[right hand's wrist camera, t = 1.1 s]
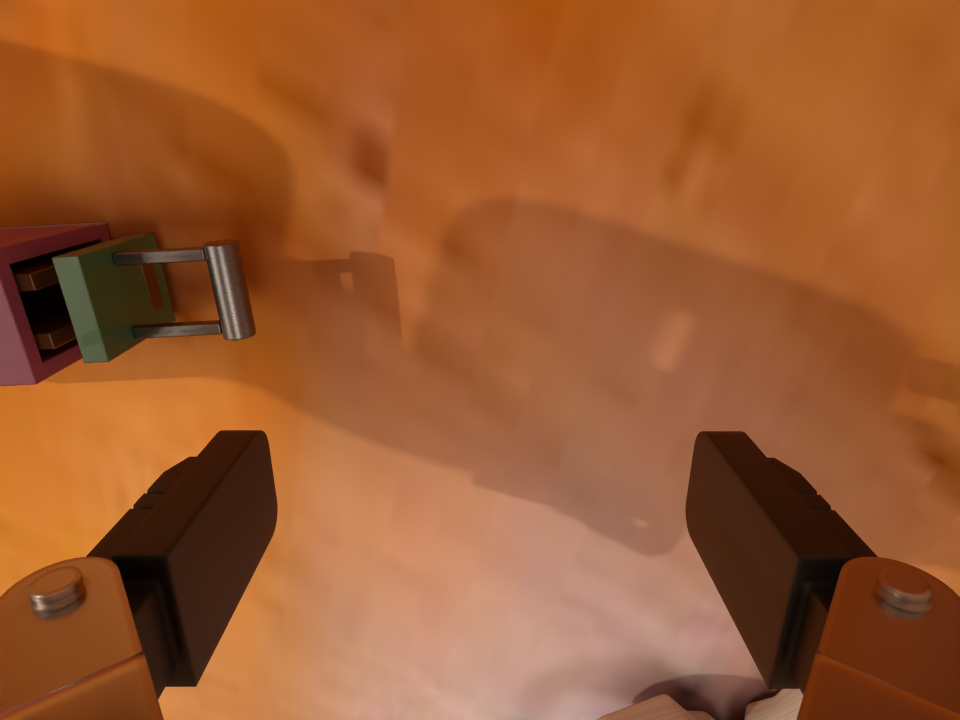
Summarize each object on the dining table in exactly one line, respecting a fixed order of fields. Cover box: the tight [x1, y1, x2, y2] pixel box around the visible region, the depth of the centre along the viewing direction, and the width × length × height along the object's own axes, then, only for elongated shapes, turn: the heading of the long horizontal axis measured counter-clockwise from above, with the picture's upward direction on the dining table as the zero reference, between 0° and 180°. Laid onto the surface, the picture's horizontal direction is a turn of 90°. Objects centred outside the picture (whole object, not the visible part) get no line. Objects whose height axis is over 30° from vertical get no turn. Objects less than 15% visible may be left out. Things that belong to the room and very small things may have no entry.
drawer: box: [9, 233, 256, 363], centre depth 30 cm, size 21×5×7 cm, turn 93°
